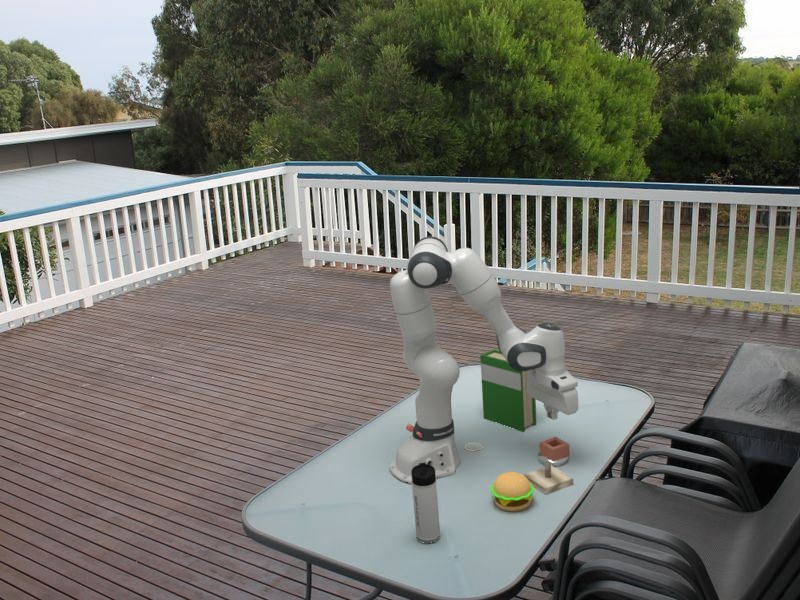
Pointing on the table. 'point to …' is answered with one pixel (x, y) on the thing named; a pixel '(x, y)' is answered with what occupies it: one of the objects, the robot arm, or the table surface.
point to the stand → (549, 479)
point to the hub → (555, 463)
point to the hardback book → (506, 393)
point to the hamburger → (512, 491)
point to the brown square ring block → (554, 449)
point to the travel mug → (425, 503)
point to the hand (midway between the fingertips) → (552, 418)
